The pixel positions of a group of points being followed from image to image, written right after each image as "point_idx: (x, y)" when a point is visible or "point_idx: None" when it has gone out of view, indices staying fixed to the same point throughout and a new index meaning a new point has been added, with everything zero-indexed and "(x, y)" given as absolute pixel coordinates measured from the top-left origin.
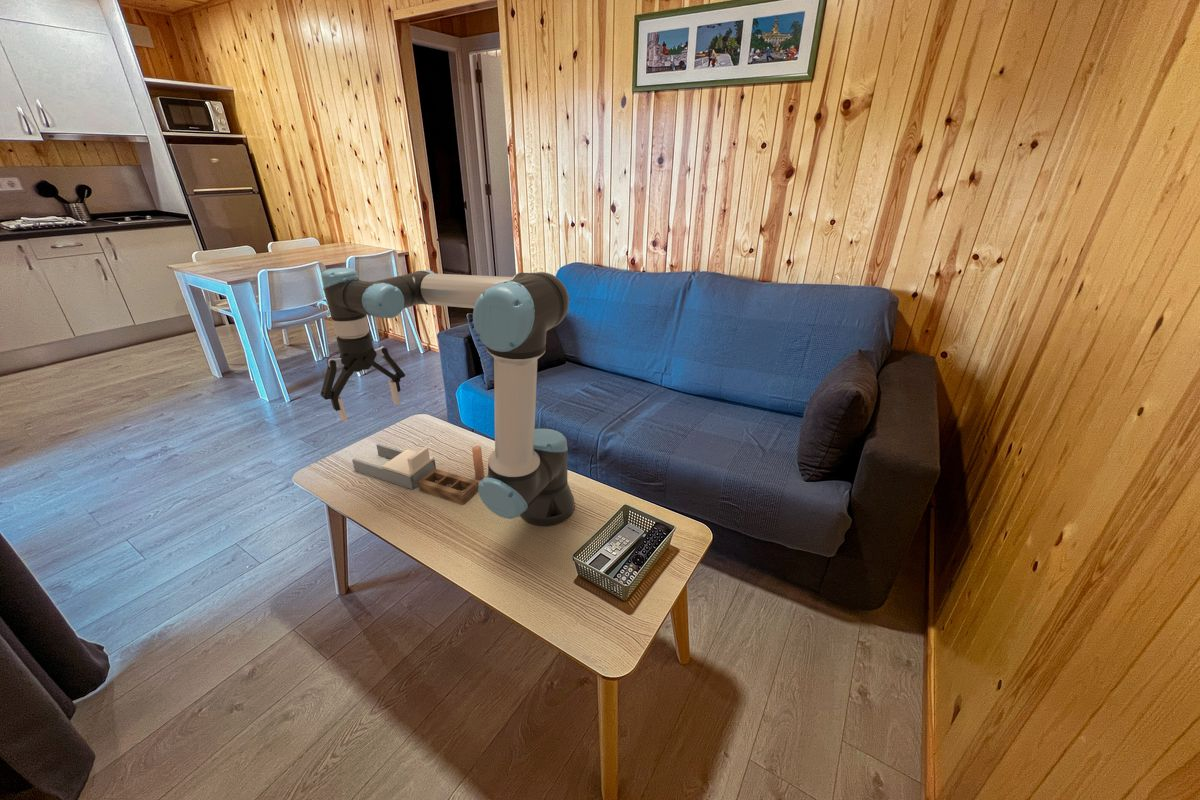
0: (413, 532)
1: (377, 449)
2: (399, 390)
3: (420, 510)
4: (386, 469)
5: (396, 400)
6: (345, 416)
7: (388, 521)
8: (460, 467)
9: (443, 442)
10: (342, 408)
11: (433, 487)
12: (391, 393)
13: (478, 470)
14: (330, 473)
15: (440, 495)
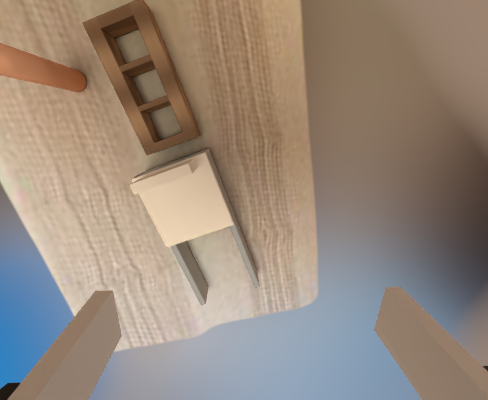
0: (270, 14)
1: (206, 295)
2: (2, 394)
3: (227, 73)
4: (229, 212)
5: (94, 316)
6: (415, 311)
7: (285, 89)
8: (98, 148)
9: (93, 252)
10: (474, 368)
11: (179, 91)
12: (87, 395)
13: (62, 65)
14: (286, 288)
15: (176, 77)
